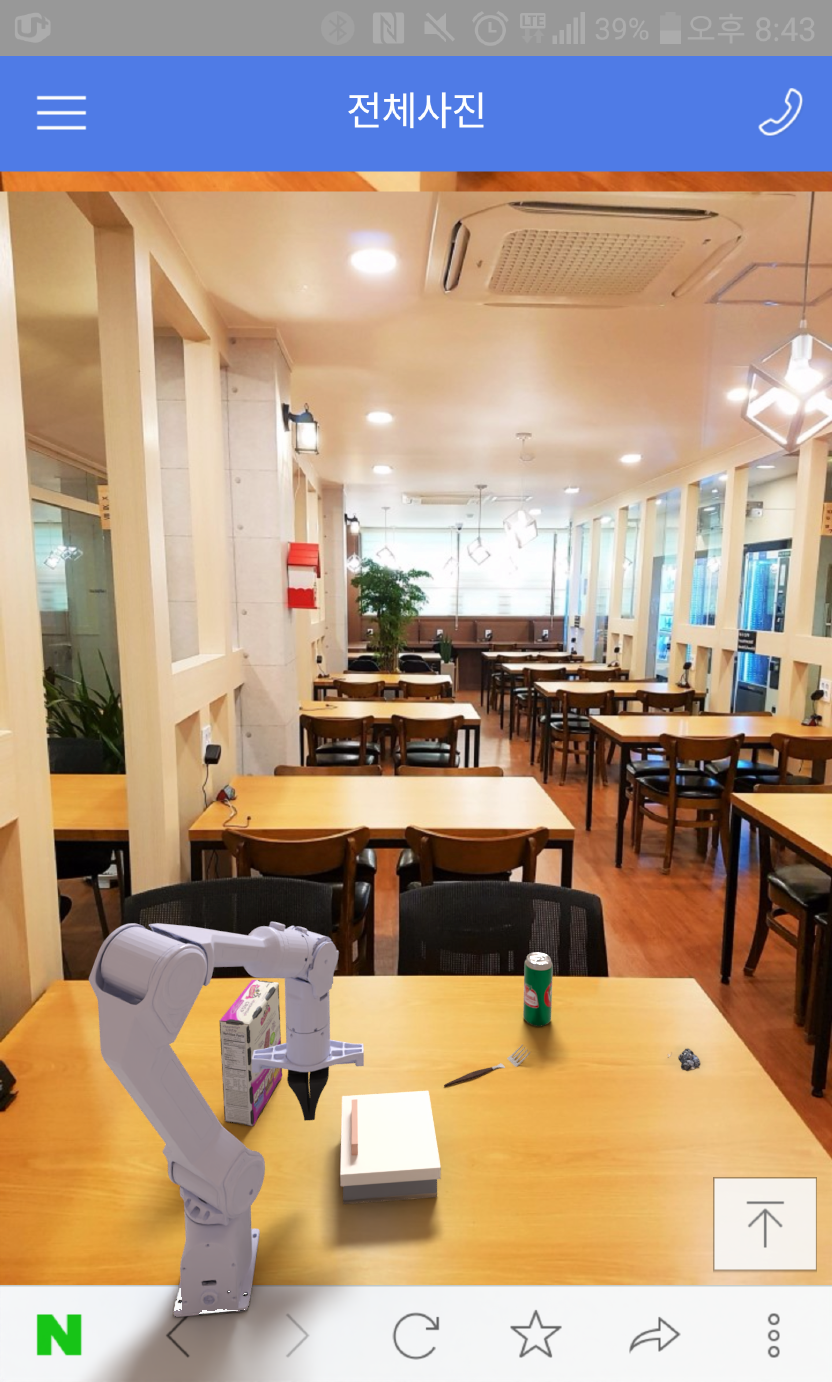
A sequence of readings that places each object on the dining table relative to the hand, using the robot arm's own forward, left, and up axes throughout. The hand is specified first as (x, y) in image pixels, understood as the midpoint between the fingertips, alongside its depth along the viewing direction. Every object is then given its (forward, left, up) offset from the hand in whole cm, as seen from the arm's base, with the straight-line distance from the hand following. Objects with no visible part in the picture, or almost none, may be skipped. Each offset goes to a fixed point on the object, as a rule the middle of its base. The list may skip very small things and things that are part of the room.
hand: (309, 1114), depth 91 cm
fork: (+17, -27, -8) cm, 33 cm away
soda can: (+30, -39, -8) cm, 50 cm away
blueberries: (+17, -61, -9) cm, 64 cm away
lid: (0, -10, -4) cm, 11 cm away
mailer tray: (0, -10, -8) cm, 13 cm away
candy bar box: (+14, +10, -8) cm, 19 cm away
